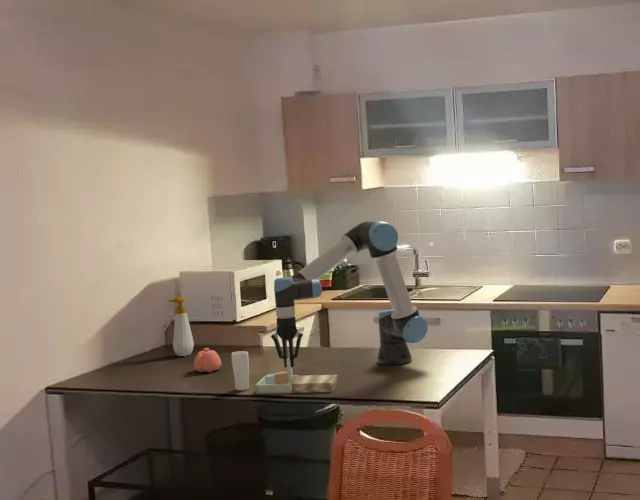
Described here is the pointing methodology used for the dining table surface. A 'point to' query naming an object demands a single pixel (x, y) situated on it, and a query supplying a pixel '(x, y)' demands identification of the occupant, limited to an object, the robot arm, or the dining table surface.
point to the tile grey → (270, 379)
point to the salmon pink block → (282, 378)
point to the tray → (274, 387)
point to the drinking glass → (241, 369)
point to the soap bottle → (182, 330)
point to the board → (314, 383)
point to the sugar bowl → (207, 361)
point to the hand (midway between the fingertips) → (290, 375)
